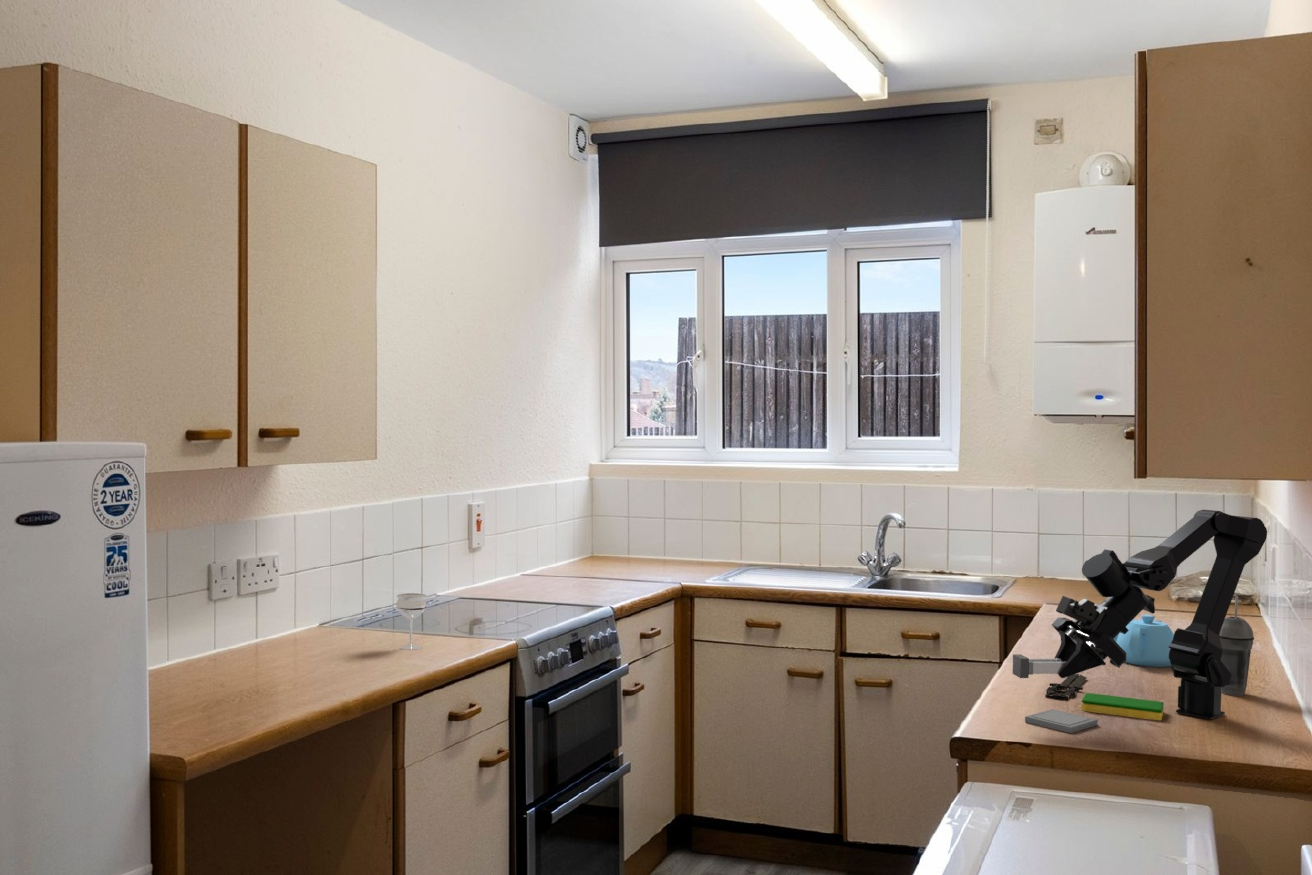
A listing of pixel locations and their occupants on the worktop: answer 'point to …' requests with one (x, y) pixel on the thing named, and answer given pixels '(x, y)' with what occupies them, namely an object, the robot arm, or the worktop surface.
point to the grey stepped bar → (1035, 666)
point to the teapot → (1146, 642)
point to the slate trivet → (1061, 721)
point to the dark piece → (1071, 689)
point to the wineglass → (411, 611)
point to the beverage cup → (1236, 652)
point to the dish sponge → (1122, 706)
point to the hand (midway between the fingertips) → (1055, 674)
